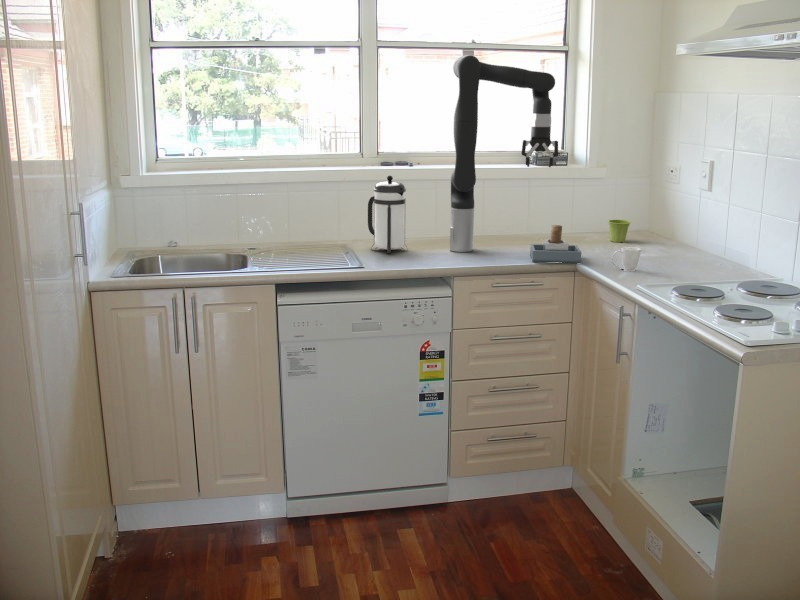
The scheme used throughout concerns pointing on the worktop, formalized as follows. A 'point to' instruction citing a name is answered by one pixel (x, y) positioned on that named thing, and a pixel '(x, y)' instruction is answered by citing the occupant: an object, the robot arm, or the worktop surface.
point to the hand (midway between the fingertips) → (538, 166)
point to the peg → (556, 234)
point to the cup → (629, 257)
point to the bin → (555, 254)
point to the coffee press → (388, 215)
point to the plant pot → (618, 230)
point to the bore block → (555, 245)
